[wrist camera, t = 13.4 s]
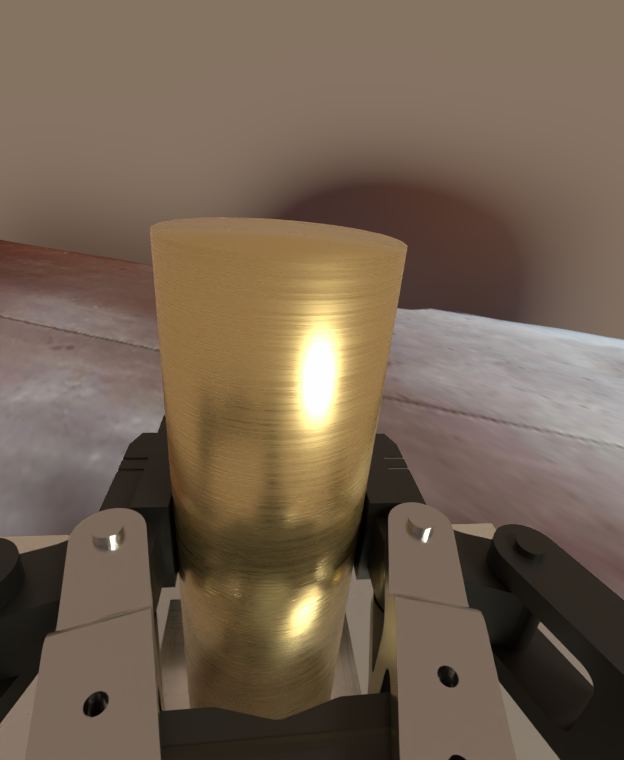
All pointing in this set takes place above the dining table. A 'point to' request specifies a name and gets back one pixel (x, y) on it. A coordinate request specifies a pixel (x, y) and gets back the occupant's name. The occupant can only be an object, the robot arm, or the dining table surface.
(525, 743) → the peg-in-hole plate
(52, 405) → the dining table surface
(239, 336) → the pin
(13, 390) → the dining table surface
